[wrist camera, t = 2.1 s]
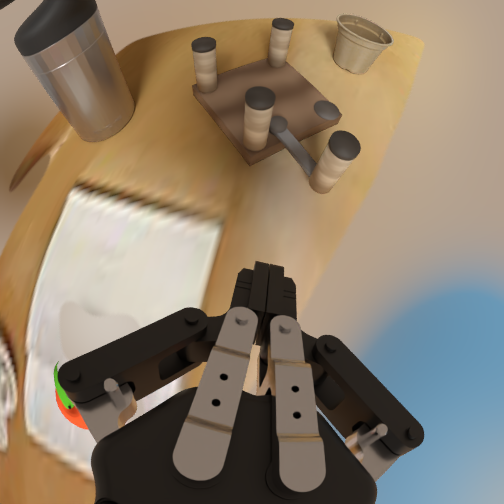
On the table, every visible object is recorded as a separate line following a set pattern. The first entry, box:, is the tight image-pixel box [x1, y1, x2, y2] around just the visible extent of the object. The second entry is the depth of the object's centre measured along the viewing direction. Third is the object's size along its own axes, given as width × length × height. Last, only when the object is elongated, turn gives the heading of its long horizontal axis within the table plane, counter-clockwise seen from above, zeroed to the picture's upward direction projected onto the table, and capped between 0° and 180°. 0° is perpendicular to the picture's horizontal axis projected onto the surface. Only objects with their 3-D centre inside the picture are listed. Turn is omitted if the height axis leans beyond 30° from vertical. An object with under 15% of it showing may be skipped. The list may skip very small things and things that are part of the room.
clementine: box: [54, 361, 88, 429], centre depth 21 cm, size 8×7×7 cm
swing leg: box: [269, 116, 361, 194], centre depth 25 cm, size 10×3×8 cm, turn 33°
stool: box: [191, 18, 342, 166], centre depth 28 cm, size 14×14×10 cm
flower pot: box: [334, 14, 394, 74], centre depth 32 cm, size 9×9×9 cm
